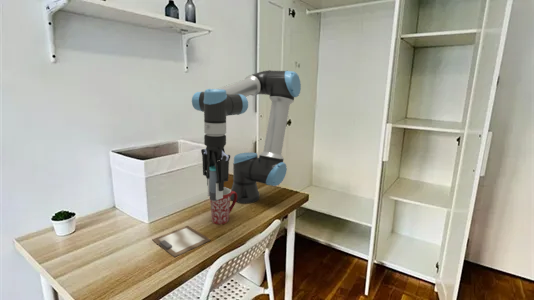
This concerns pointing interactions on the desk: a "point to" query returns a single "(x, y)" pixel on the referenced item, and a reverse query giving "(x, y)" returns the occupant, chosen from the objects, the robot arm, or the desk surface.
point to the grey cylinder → (213, 183)
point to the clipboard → (181, 240)
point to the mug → (222, 207)
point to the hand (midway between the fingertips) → (215, 196)
